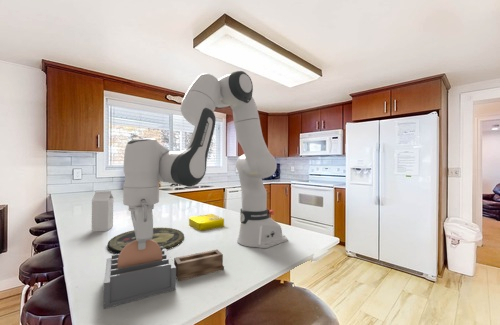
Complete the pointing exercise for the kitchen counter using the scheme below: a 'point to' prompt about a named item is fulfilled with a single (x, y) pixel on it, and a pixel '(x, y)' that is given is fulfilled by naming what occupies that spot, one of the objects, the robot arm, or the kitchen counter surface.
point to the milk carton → (102, 211)
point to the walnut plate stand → (198, 264)
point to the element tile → (206, 222)
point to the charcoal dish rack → (138, 280)
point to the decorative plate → (160, 236)
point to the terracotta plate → (139, 254)
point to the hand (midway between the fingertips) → (141, 247)
